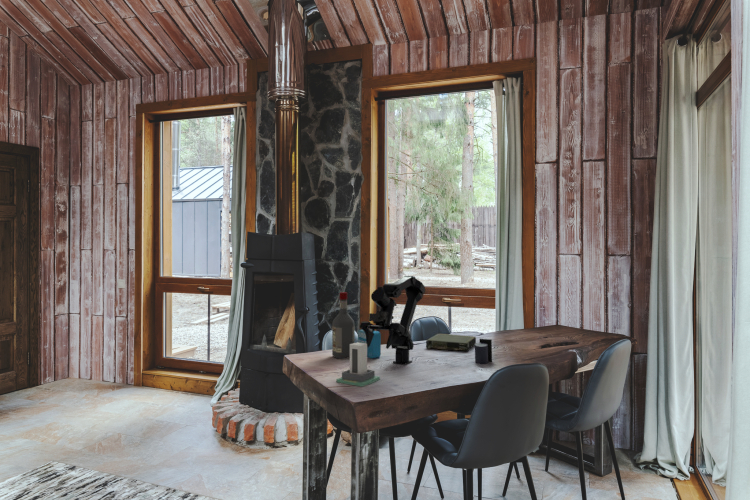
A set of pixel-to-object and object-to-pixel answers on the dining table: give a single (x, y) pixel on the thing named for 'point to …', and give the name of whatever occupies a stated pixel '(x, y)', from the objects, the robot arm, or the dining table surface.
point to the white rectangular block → (358, 358)
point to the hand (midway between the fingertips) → (377, 347)
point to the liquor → (342, 331)
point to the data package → (375, 345)
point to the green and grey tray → (358, 378)
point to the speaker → (483, 351)
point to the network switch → (451, 342)
